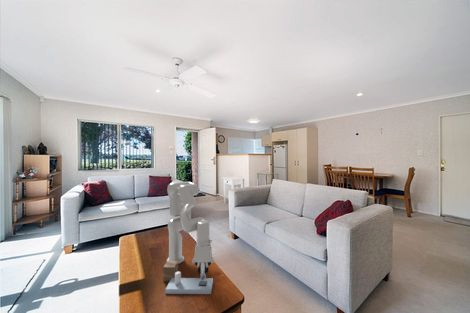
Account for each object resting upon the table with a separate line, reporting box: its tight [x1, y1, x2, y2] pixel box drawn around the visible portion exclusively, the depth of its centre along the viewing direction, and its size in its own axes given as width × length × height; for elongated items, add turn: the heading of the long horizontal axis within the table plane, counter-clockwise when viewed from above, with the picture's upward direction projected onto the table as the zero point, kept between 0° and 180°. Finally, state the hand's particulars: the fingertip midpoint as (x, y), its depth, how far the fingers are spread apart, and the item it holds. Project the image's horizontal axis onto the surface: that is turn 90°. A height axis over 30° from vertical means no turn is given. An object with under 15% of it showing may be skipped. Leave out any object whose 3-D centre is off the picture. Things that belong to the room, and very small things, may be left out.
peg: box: [199, 262, 207, 280], centre depth 109 cm, size 3×3×10 cm
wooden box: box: [162, 260, 179, 282], centre depth 118 cm, size 7×7×9 cm
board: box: [164, 271, 214, 295], centre depth 109 cm, size 10×26×8 cm, turn 90°
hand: (203, 272), depth 109 cm, fingers closed on peg, 3 cm apart
